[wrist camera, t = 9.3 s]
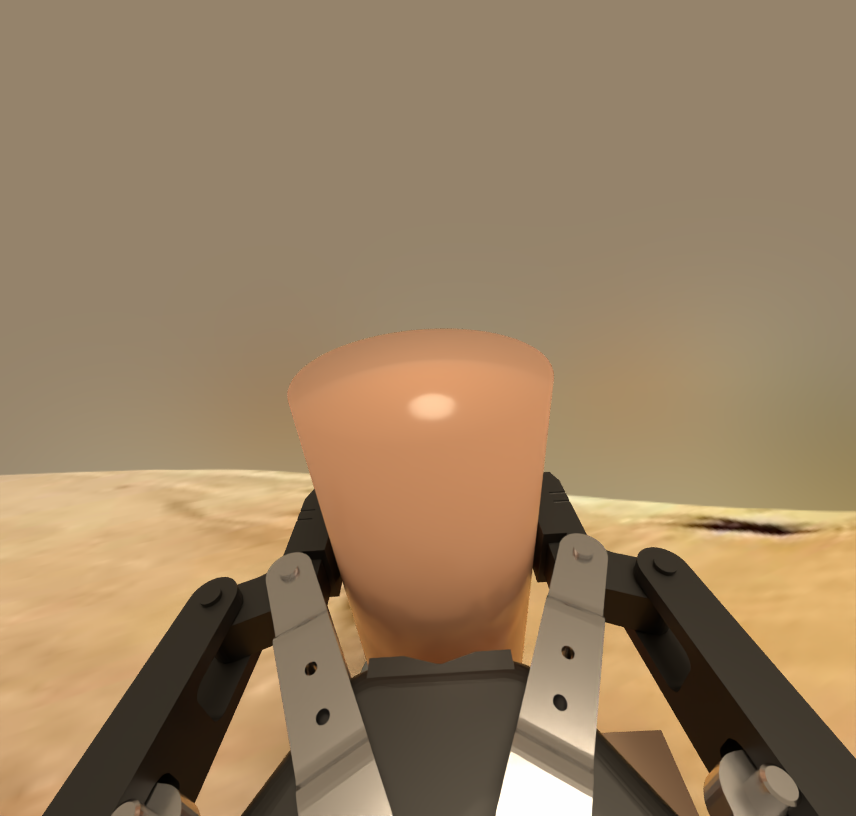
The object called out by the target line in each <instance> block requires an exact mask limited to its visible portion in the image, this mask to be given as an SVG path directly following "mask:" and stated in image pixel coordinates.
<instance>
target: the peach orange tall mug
mask: <svg viewBox="0 0 856 816" xmlns="http://www.w3.org/2000/svg"><path fill="white" fill-rule="evenodd" d="M553 381H554V372H553V369H552V365H551V364H550V362H549V361H548V359H547V358H546V357H545V356H544V355H543V354H542V353H541V352H539V351H538V350H537V349H535V348H534V347H532V346H530V345H528V344H526V343H524V342H522V341H519V340H517V339H514V338H510V337H507V336H503V335H499V334H495V333H490V332H483V331H476V330H466V329H420V330H409V331H401V332H394V333H388V334H383V335H378V336H374V337H369V338H366V339H362V340H358V341H355V342H352V343H349V344H347V345H344V346H341V347H339V348H336V349H334V350H331V351H329V352H327V353H325V354H323V355H321V356H320V357H318V358H316V359H314V360H313V361H311V362H310V363H309V364H307V365H306V366H305V367H304V368H302V369H301V370H300V371H299V372H298V373H297V374H296V376H295V377H294V378H293V380H292V381H291V383H290V386H289V389H288V392H287V393H288V402H289V406H290V409H291V412H292V416H293V419H294V422H295V426H296V429H297V432H298V436H299V439H300V442H301V446H302V449H303V452H304V455H305V459H306V462H307V465H308V469H309V472H310V475H311V479H312V482H313V485H314V489H315V492H316V495H317V498H318V502H319V505H320V508H321V512H322V515H323V518H324V522H325V525H326V528H327V532H328V535H329V538H330V542H331V545H332V548H333V551H334V555H335V558H336V561H337V565H338V568H339V571H340V575H341V578H342V581H343V585H344V588H345V591H346V595H347V598H348V601H349V604H350V608H351V611H352V614H353V618H354V621H355V624H356V628H357V631H358V634H359V638H360V641H361V644H362V647H363V651H364V654H365V657H366V661H367V664H369V658H380V657H396V656H406V657H410V658H414V659H419V660H423V661H427V662H431V663H436V664H442V663H446V662H448V661H451V660H454V659H457V658H459V657H462V656H465V655H467V654H470V653H473V652H476V651H491V650H507V649H511V654H512V659H513V661H515V662H519V663H522V658H523V650H524V641H525V632H526V623H527V614H528V605H529V596H530V587H531V578H532V569H533V560H534V551H535V542H536V533H537V524H538V515H539V506H540V497H541V488H542V479H543V469H544V461H545V452H546V443H547V434H548V425H549V417H550V416H549V415H550V407H551V398H552V390H553Z"/></svg>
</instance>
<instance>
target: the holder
mask: <svg viewBox="0 0 856 816" xmlns="http://www.w3.org/2000/svg"><path fill="white" fill-rule="evenodd" d="M601 734H602V735H603V736H604V737H605V738H606V739H607V740H608V741H609V742H610V743H611V744H612V745H613V746H614V747H615V748H616V749H617V751H618V752H619V753H620V754H621V755H622V756H623V757H624V758H625V759H626V760H627V761H628V762H629V763H630V764H631V765H632V766H633V768H634V769H635V770H636V771H637V772H638V773H639V774H640V775H641V776H642V777H643V778H644V779H645V780H646V781H647V782H648V783H649V784H650V785H651V787H652V788H653V789H654V790H655V791H656V792H657V793H658V794H659V795H660V796H661V797H662V798H663V799H664V800H665V801H666V802H667V803H668V805H669V806H670V807H671V808H672V809H673V810H674V811H675V812H676V813H677V814H678V815H679V816H699V815H698V812H697V810H696V808H695V806H694V803H693V801H692V799H691V797H690V794H689V792H688V790H687V788H686V785H685V783H684V781H683V779H682V776H681V774H680V772H679V770H678V767H677V765H676V763H675V761H674V758H673V756H672V754H671V752H670V749H669V747H668V745H667V742H666V740H665V738H664V736H663V733H662V731H661V730H655V731H633V732H611V733H601Z"/></svg>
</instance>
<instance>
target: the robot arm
mask: <svg viewBox="0 0 856 816" xmlns="http://www.w3.org/2000/svg"><path fill="white" fill-rule="evenodd" d="M297 520H298V521H297V522H296V524H295V527H294V529H293V532H292V535H291V537H290V540H289V542H288V545H287V548H286V550H285V553H284V555H283V557H281V558H279V559H278V560H277V561H275V562H274V563H273V564H272V566H271V567H270V568H269V570H268V572H267V573H266V574H264V575H263V576H260V577H258V578H255V579H252V580H250V581H247V582H244V583H241V584H238V585H237V584H236V582H235V581H234V580H233V579H232V578H229V577H220V578H216V579H213V580H211V581H209V582H207V583H205V584H204V585H202V586H201V587H200V588H198V589H197V590H196V591H195V592H194V593H193V595H192V596H191V597H190V599H189V600H188V602H187V603H186V605H185V606H184V607H183V609H182V610H181V612H180V613H179V615H178V616H177V618H176V619H175V621H174V622H173V624H172V625H171V627H170V628H169V630H168V631H167V632H166V634H165V635H164V637H163V638H162V640H161V641H160V643H159V644H158V646H157V647H156V649H155V650H154V652H153V653H152V655H151V656H150V658H149V659H148V660H147V662H146V663H145V665H144V666H143V668H142V669H141V671H140V672H139V674H138V675H137V677H136V678H135V680H134V681H133V683H132V684H131V686H130V687H129V688H128V690H127V691H126V693H125V694H124V696H123V697H122V699H121V700H120V702H119V703H118V705H117V706H116V708H115V709H114V711H113V712H112V713H111V715H110V716H109V718H108V719H107V721H106V722H105V724H104V725H103V727H102V728H101V730H100V731H99V733H98V734H97V736H96V737H95V739H94V740H93V741H92V743H91V744H90V746H89V747H88V749H87V750H86V752H85V753H84V755H83V756H82V758H81V759H80V761H79V762H78V764H77V765H76V767H75V768H74V769H73V771H72V772H71V774H70V775H69V777H68V778H67V780H66V781H65V783H64V784H63V786H62V787H61V789H60V790H59V792H58V793H57V794H56V796H55V797H54V799H53V800H52V802H51V803H50V805H49V806H48V808H47V809H46V811H45V812H44V814H43V815H42V816H200V813H199V810H198V808H197V806H196V805H195V801H196V799H197V797H198V795H199V792H200V790H201V788H202V785H203V783H204V781H205V779H206V776H207V774H208V772H209V770H210V767H211V765H212V763H213V760H214V758H215V756H216V754H217V751H218V749H219V747H220V745H221V742H222V740H223V738H224V735H225V733H226V731H227V729H228V726H229V724H230V722H231V720H232V717H233V715H234V713H235V710H236V708H237V706H238V704H239V701H240V699H241V697H242V695H243V692H244V690H245V688H246V686H247V683H248V681H249V679H250V676H251V674H252V672H253V670H254V667H255V665H256V663H257V661H258V658H259V656H260V654H261V651H262V650H263V649H266V648H268V647H270V646H273V648H274V655H275V660H276V666H277V672H278V678H279V684H280V690H281V696H282V702H283V708H284V714H285V720H286V725H287V731H288V737H289V743H290V749H291V750H290V751H289V753H288V754H287V755H286V757H285V758H284V759H283V761H282V762H281V763H280V765H279V766H278V767H277V768H276V770H275V771H274V772H273V774H272V775H271V776H270V778H269V779H268V780H267V782H266V783H265V784H264V786H263V787H262V788H261V790H260V791H259V792H258V794H257V795H256V796H255V798H254V799H253V800H252V802H251V803H250V804H249V806H248V807H247V808H246V810H245V811H244V812H243V814H242V815H241V816H679V815H678V814H677V813H676V812H675V811H674V810H673V809H672V808H671V807H670V806H669V805H668V803H667V802H666V801H665V800H664V799H663V798H662V797H661V796H660V795H659V794H658V793H657V792H656V791H655V790H654V789H653V788H652V787H651V785H650V784H649V783H648V782H647V781H646V780H645V779H644V778H643V777H642V776H641V775H640V774H639V773H638V772H637V771H636V770H635V769H634V768H633V766H632V765H631V764H630V763H629V762H628V761H627V760H626V759H625V758H624V757H623V756H622V755H621V754H620V753H619V752H618V751H617V749H616V748H615V747H614V746H613V745H612V744H611V743H610V742H609V741H608V740H607V739H606V738H605V737H604V736H603V735H602V734H601V732H600V731H599V730H598V729H597V728H596V726H597V714H598V702H599V690H600V678H601V666H602V654H603V642H604V630H605V622H607V623H610V624H614V625H618V626H622V627H624V628H625V630H626V632H627V633H628V635H629V637H630V638H631V640H632V642H633V644H634V645H635V647H636V649H637V650H638V652H639V654H640V656H641V657H642V659H643V661H644V662H645V664H646V666H647V668H648V669H649V671H650V673H651V674H652V676H653V678H654V679H655V681H656V683H657V685H658V686H659V688H660V690H661V691H662V693H663V695H664V697H665V698H666V700H667V702H668V703H669V705H670V707H671V709H672V710H673V712H674V714H675V715H676V717H677V719H678V720H679V722H680V724H681V726H682V727H683V729H684V731H685V732H686V734H687V736H688V738H689V739H690V741H691V743H692V744H693V746H694V748H695V749H696V751H697V753H698V755H699V756H700V758H701V760H702V761H703V763H704V765H705V767H706V768H707V770H708V772H709V774H708V776H707V777H706V779H705V782H704V788H703V790H704V799H705V803H706V806H707V810H708V812H709V814H710V816H856V758H855V757H854V756H853V755H852V754H851V753H850V752H849V750H848V749H847V748H846V747H845V746H844V745H843V743H842V742H841V741H840V740H839V739H838V738H837V737H836V735H835V734H834V733H833V732H832V731H831V730H830V728H829V727H828V726H827V725H826V724H825V723H824V722H823V720H822V719H821V718H820V717H819V716H818V715H817V713H816V712H815V711H814V710H813V709H812V708H811V707H810V705H809V704H808V703H807V702H806V701H805V700H804V698H803V697H802V696H801V695H800V694H799V693H798V692H797V690H796V689H795V688H794V687H793V686H792V685H791V683H790V682H789V681H788V680H787V679H786V678H785V676H784V675H783V674H782V673H781V672H780V671H779V670H778V668H777V667H776V666H775V665H774V664H773V663H772V661H771V660H770V659H769V658H768V657H767V656H766V655H765V653H764V652H763V651H762V650H761V649H760V648H759V646H758V645H757V644H756V643H755V642H754V641H753V640H752V638H751V637H750V636H749V635H748V634H747V633H746V631H745V630H744V629H743V628H742V627H741V626H740V625H739V623H738V622H737V621H736V620H735V619H734V618H733V616H732V615H731V614H730V613H729V612H728V611H727V610H726V608H725V607H724V606H723V605H722V604H721V603H720V601H719V600H718V599H717V598H716V597H715V596H714V594H713V593H712V592H711V591H710V590H709V589H708V588H707V586H706V585H705V584H704V583H703V582H702V581H701V579H700V578H699V577H698V576H697V575H696V574H695V573H694V571H693V570H692V569H691V568H690V567H689V566H688V564H687V563H686V562H685V561H684V560H683V559H681V558H680V557H679V556H677V555H676V554H674V553H672V552H670V551H668V550H665V549H662V548H655V547H650V548H645V549H643V550H642V551H640V552H639V554H638V556H637V557H632V556H628V555H623V554H618V553H613V552H610V551H607V550H606V549H605V548H604V546H603V545H602V544H601V543H600V542H599V541H597V540H596V539H594V538H592V537H590V536H588V535H587V534H586V532H585V530H584V528H583V526H582V524H581V522H580V520H579V518H578V516H577V514H576V512H575V510H574V509H573V507H572V505H571V503H570V502H569V499H568V497H567V495H566V493H565V491H564V489H563V487H562V485H561V483H560V481H559V480H558V479H557V478H556V477H555V476H553V475H552V474H551V473H550V472H543V479H542V488H541V497H540V506H539V515H538V524H537V533H536V542H535V551H534V560H533V570H534V573H535V576H536V580H537V582H547V584H548V587H549V593H548V595H547V598H546V602H545V606H544V610H543V615H542V619H541V623H540V628H539V632H538V637H537V641H536V645H535V650H534V654H533V658H532V663H531V667H529V666H527V665H525V664H522V663H519V662H515V661H513V659H512V654H511V649H507V650H491V651H476V652H473V653H470V654H467V655H465V656H462V657H459V658H457V659H454V660H451V661H448V662H446V663H442V664H436V663H431V662H427V661H423V660H419V659H414V658H410V657H406V656H396V657H380V658H369V664H368V670H367V671H364V672H362V673H360V674H358V675H356V676H354V677H353V678H351V675H350V672H349V670H348V667H347V664H346V661H345V658H344V655H343V652H342V649H341V646H340V643H339V639H338V636H337V633H336V630H335V627H334V624H333V621H332V618H331V615H330V612H329V609H328V606H327V605H328V600H329V597H335V596H339V595H340V590H341V585H342V578H341V575H340V571H339V568H338V565H337V561H336V558H335V555H334V551H333V548H332V545H331V542H330V538H329V535H328V532H327V528H326V525H325V522H324V518H323V515H322V512H321V508H320V505H319V502H318V498H317V495H316V492H315V489H314V490H313V491H312V492H311V493H310V494H309V495H308V496H307V498H306V499H305V501H304V503H303V506H302V508H301V512H300V514H299V516H298V519H297Z"/></svg>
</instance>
